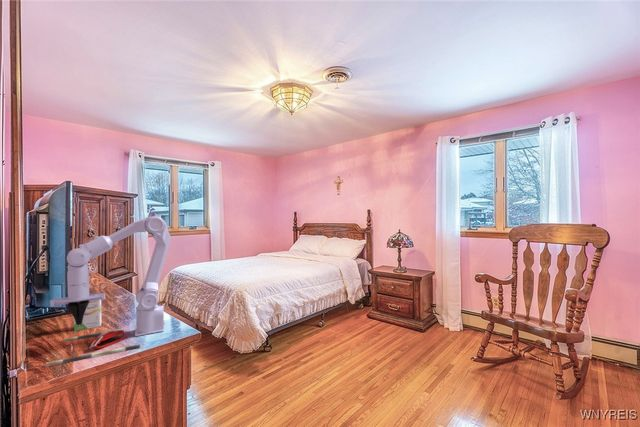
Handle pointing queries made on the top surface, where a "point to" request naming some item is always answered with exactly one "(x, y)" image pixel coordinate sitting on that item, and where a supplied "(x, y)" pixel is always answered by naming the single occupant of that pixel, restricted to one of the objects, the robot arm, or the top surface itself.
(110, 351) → the track
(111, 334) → the tracker holder
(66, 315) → the top surface
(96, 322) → the ink box
